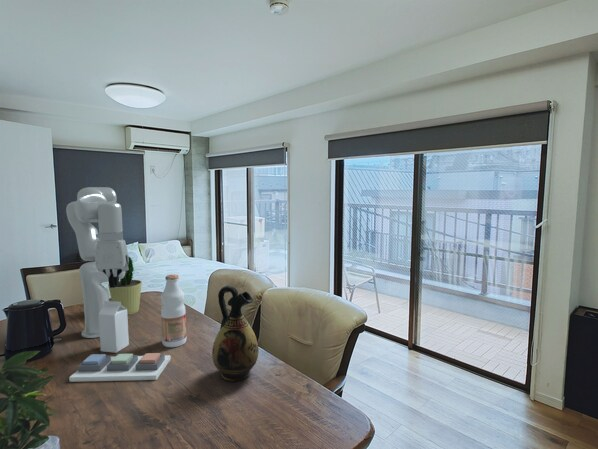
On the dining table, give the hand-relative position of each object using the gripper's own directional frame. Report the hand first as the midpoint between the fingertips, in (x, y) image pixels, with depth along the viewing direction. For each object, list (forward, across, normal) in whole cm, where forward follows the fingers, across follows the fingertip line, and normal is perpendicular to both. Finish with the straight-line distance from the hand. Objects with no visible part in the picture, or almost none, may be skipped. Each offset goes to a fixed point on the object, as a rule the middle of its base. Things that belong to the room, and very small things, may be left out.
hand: (114, 286), depth 127 cm
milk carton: (+27, -5, +8) cm, 29 cm away
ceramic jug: (+27, +45, -13) cm, 54 cm away
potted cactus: (+27, -20, +51) cm, 61 cm away
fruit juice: (+27, +17, +12) cm, 34 cm away
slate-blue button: (+25, -3, -9) cm, 27 cm away
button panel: (+27, +6, -9) cm, 29 cm away
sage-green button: (+25, +6, -9) cm, 27 cm away
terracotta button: (+25, +16, -9) cm, 31 cm away
